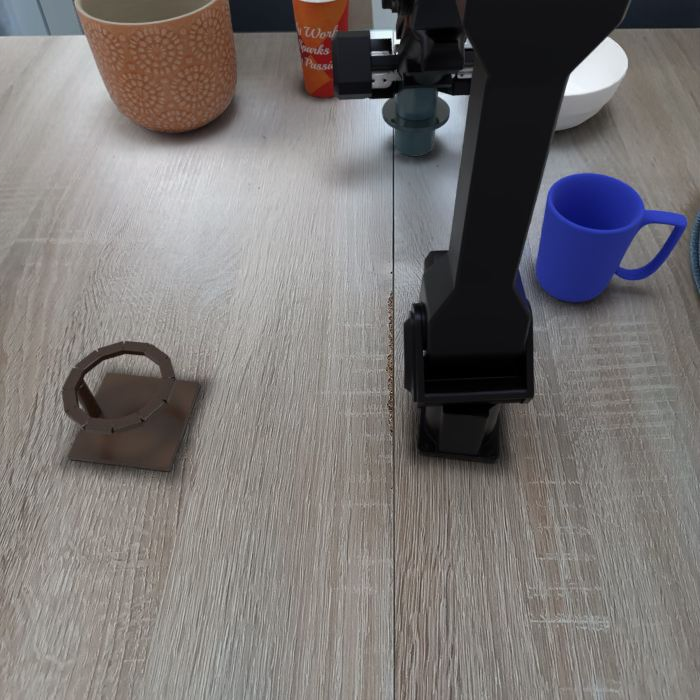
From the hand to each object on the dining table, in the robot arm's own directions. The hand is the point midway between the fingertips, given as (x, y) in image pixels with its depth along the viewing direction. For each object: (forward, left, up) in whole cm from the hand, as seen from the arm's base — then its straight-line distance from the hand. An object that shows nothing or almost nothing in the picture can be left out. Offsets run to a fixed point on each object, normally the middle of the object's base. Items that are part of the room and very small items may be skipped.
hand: (415, 86), depth 75 cm
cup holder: (-43, +20, -7) cm, 48 cm away
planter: (+4, +31, -7) cm, 32 cm away
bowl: (+9, -15, -7) cm, 19 cm away
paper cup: (+12, +13, -7) cm, 19 cm away
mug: (-22, -19, -7) cm, 30 cm away
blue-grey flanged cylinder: (-1, 0, -7) cm, 7 cm away
